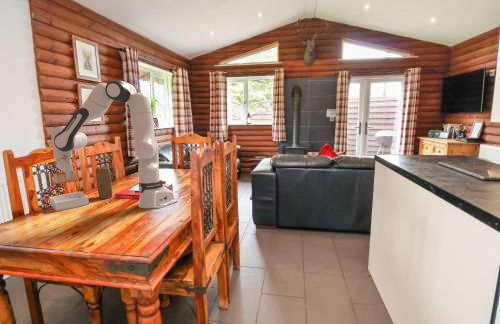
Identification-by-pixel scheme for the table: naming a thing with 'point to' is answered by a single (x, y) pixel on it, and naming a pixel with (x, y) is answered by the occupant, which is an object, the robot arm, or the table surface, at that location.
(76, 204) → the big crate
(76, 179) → the small crate
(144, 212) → the table surface
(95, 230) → the table surface
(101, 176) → the block
